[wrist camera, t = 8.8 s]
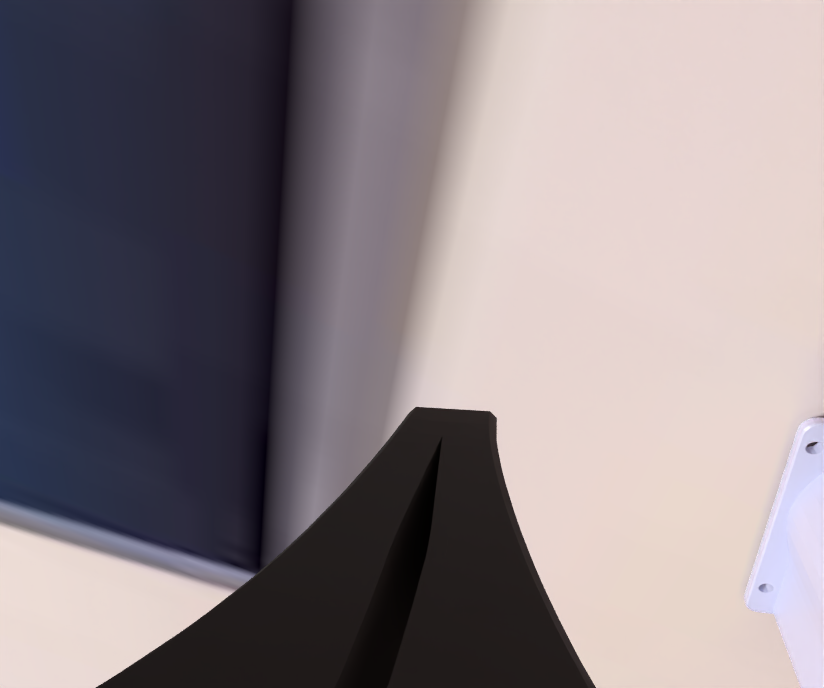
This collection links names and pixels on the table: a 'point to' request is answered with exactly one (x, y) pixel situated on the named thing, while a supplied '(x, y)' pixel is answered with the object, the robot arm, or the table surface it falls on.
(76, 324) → the table surface
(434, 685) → the robot arm
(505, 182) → the table surface
